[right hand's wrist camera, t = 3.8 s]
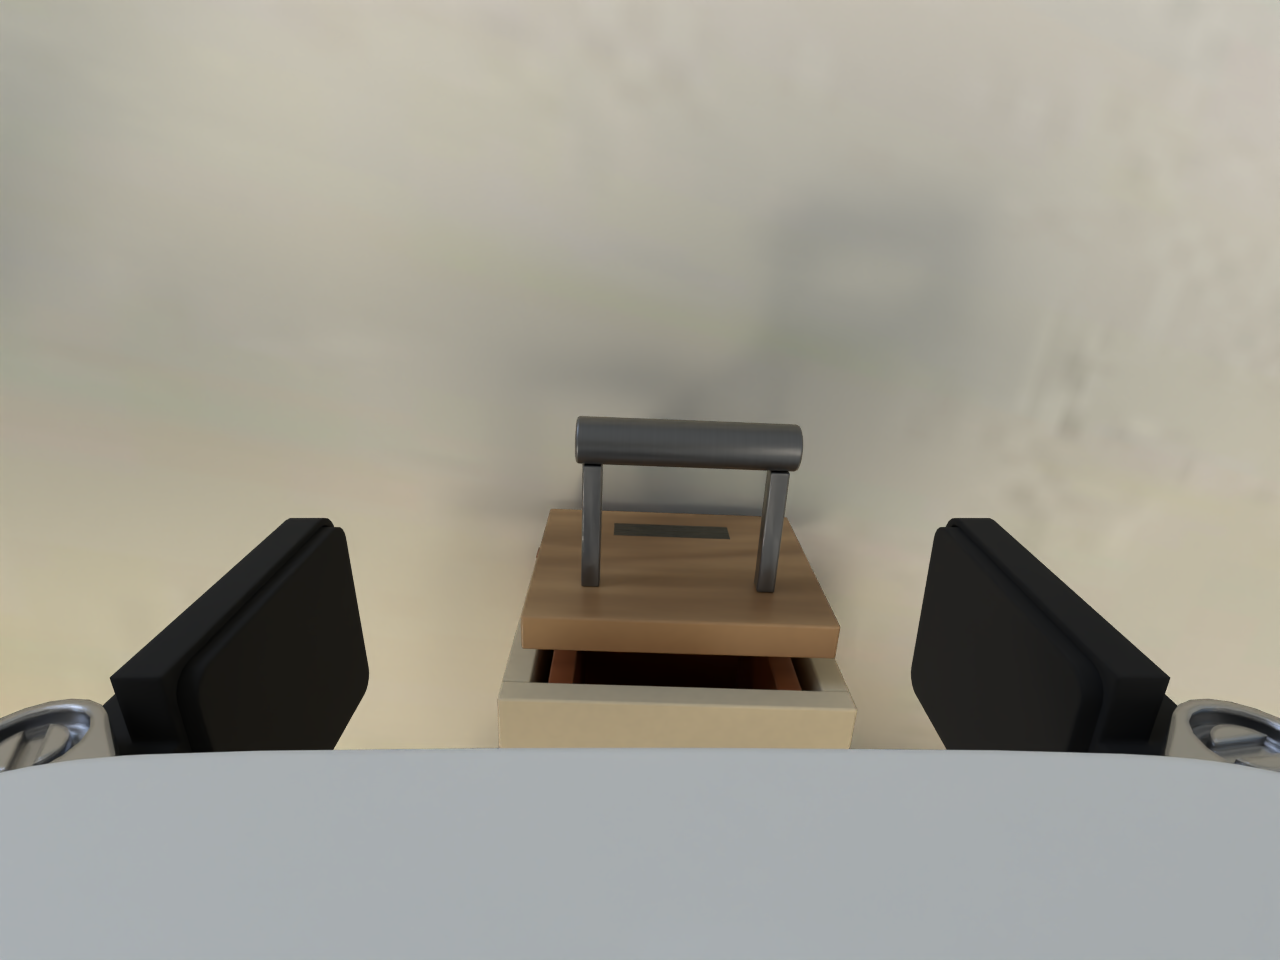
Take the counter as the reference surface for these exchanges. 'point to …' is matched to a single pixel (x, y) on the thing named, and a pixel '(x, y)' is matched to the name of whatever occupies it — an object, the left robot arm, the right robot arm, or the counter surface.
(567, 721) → the lidded box
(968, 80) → the counter surface
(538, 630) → the drawer
